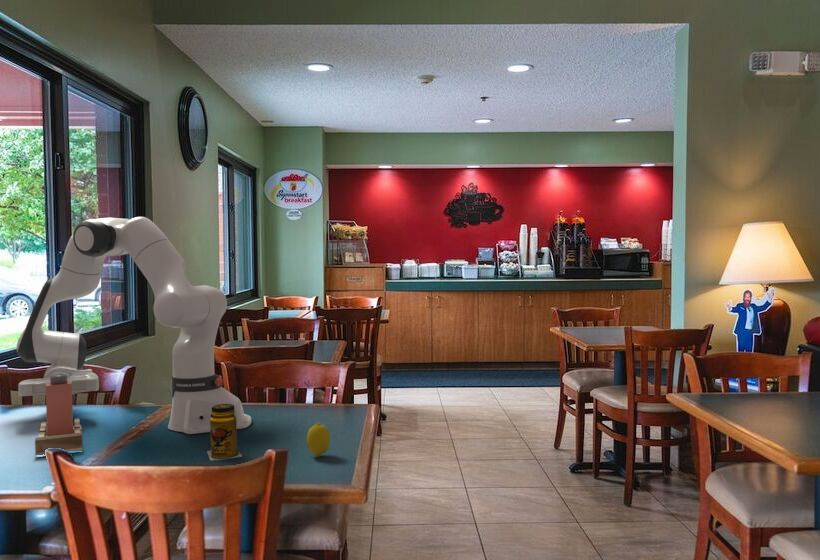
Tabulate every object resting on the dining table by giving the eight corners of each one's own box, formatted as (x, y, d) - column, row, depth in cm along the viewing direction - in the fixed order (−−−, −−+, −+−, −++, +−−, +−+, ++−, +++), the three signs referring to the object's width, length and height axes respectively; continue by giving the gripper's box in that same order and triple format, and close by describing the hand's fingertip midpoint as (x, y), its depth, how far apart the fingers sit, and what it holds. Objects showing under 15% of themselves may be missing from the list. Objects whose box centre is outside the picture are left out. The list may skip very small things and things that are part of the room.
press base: (40, 434, 183) (39, 418, 183) (81, 429, 188) (80, 414, 187) (35, 458, 162) (35, 440, 162) (82, 452, 166) (81, 435, 166)
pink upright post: (47, 431, 181) (46, 375, 180) (73, 428, 184) (71, 373, 183) (47, 435, 176) (45, 378, 176) (73, 432, 179) (71, 376, 178)
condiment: (210, 461, 158) (209, 410, 157) (206, 451, 166) (205, 402, 165) (242, 457, 161) (241, 407, 160) (237, 448, 169) (236, 400, 168)
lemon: (307, 453, 163) (307, 420, 163) (331, 452, 164) (330, 419, 163) (306, 460, 158) (305, 426, 157) (330, 459, 158) (329, 425, 158)
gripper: (18, 373, 194) (15, 382, 182) (97, 368, 203) (99, 376, 191) (19, 395, 195) (15, 405, 182) (98, 389, 204) (99, 398, 191)
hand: (59, 390), depth 187 cm, fingers closed
